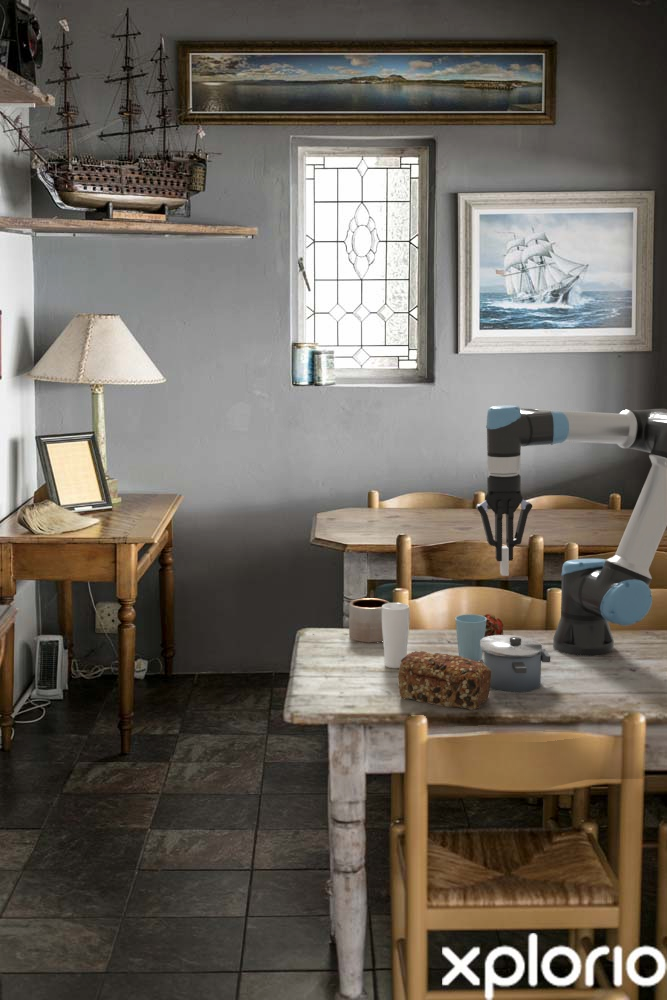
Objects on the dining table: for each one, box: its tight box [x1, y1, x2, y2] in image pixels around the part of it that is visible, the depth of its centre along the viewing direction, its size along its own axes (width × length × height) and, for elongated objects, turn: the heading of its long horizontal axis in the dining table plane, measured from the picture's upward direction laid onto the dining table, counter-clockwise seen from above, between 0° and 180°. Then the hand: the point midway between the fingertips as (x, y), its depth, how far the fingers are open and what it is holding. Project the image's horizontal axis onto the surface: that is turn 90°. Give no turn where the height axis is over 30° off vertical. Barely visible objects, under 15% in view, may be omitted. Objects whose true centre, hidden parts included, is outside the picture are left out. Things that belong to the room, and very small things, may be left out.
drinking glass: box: [382, 602, 411, 669], centre depth 271 cm, size 7×7×15 cm
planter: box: [348, 597, 391, 644], centre depth 295 cm, size 11×11×10 cm
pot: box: [483, 648, 551, 694], centre depth 259 cm, size 15×21×8 cm
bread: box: [397, 650, 491, 710], centre depth 249 cm, size 19×11×10 cm, turn 63°
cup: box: [454, 613, 487, 662], centre depth 277 cm, size 8×8×10 cm
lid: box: [480, 634, 546, 658], centre depth 258 cm, size 14×14×2 cm
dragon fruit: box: [483, 613, 504, 637], centre depth 290 cm, size 8×8×12 cm
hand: (504, 574), depth 259 cm, fingers closed
